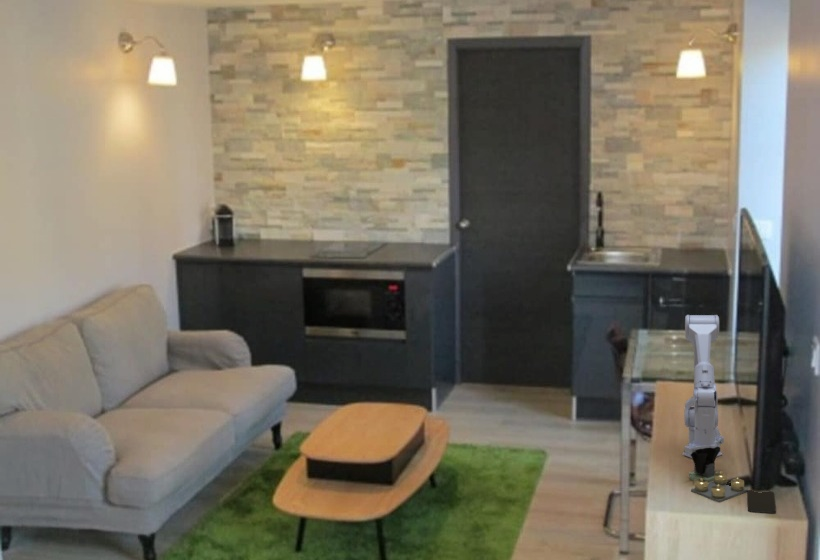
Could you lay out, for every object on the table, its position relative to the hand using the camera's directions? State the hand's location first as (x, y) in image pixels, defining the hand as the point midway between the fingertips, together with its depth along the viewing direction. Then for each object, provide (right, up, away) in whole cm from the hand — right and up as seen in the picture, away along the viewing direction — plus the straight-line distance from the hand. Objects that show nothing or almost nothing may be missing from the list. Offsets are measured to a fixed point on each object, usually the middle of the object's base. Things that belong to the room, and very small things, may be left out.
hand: (704, 471), depth 320 cm
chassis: (+1, -4, -11) cm, 11 cm away
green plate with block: (0, -2, 0) cm, 2 cm away
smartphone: (+11, -6, -19) cm, 22 cm away
